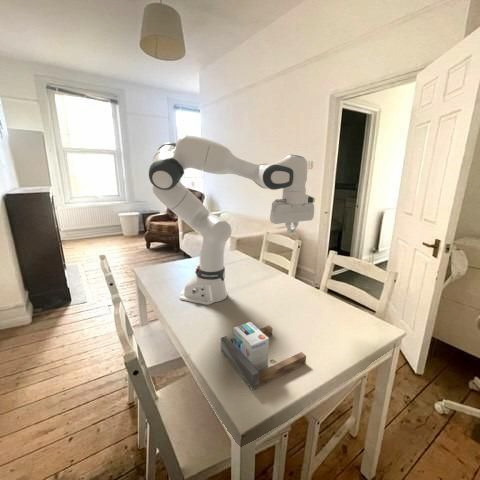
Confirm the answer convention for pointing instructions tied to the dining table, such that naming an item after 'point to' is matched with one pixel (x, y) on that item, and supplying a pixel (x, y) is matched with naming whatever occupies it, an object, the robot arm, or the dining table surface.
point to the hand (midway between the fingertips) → (291, 232)
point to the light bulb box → (252, 344)
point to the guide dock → (249, 371)
